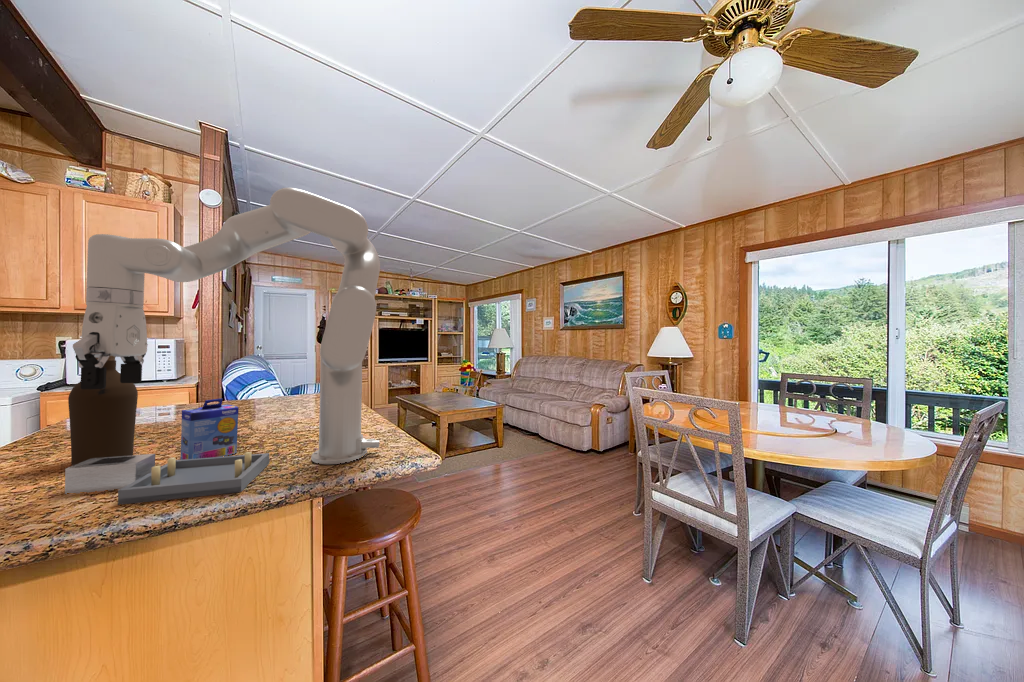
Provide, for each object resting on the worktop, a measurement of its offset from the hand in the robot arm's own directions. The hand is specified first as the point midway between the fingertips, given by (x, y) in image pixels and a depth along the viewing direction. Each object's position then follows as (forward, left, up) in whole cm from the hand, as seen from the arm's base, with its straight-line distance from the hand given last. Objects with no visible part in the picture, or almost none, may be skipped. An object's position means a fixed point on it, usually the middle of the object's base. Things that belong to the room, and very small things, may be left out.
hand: (113, 385), depth 69 cm
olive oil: (+12, -18, -20) cm, 29 cm away
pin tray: (-16, +3, -20) cm, 26 cm away
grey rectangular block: (0, 0, -20) cm, 20 cm away
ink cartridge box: (-10, -14, -20) cm, 26 cm away
